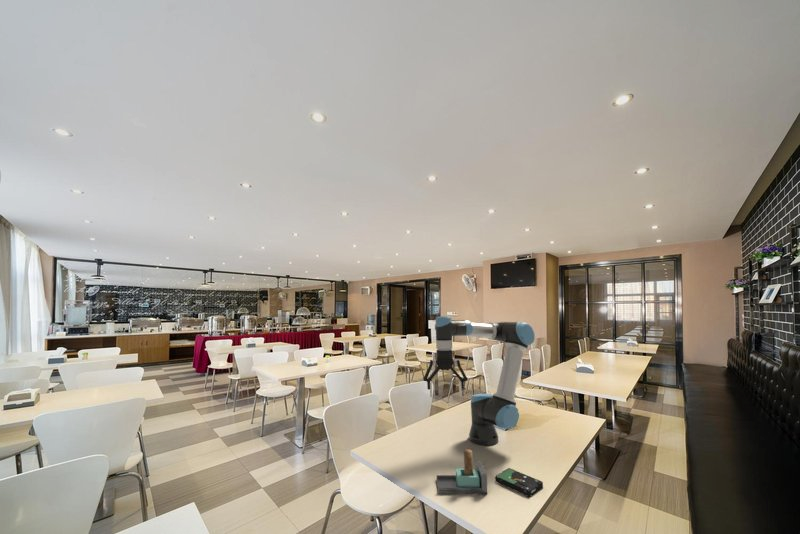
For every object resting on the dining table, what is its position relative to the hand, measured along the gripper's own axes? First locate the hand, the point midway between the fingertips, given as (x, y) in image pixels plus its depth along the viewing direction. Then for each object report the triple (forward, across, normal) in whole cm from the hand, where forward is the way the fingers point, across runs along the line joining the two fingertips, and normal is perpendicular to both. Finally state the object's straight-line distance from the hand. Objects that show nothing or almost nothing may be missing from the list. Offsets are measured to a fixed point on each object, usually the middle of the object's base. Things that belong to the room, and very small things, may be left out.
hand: (445, 396), depth 146 cm
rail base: (+29, -3, +19) cm, 35 cm away
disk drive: (+29, -26, +17) cm, 43 cm away
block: (+28, -6, +19) cm, 34 cm away
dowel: (+28, -6, +19) cm, 34 cm away
